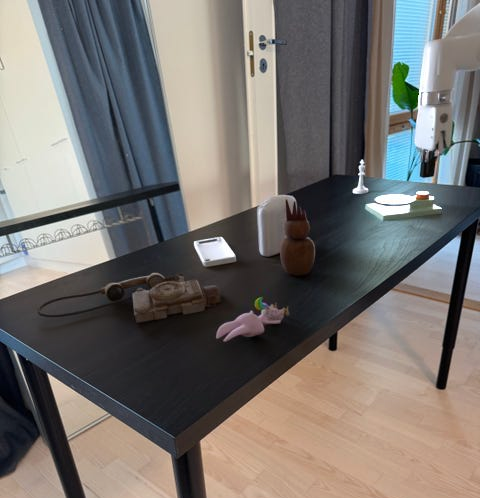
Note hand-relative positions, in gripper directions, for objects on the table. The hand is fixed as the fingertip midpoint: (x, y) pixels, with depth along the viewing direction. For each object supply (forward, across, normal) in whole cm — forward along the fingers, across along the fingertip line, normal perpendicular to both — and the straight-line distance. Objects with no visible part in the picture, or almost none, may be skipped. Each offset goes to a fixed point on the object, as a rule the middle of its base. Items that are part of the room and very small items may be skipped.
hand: (426, 176), depth 111 cm
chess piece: (+9, +25, +8) cm, 28 cm away
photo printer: (+8, -17, +44) cm, 48 cm away
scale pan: (+5, 0, +9) cm, 10 cm away
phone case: (+7, -14, +59) cm, 61 cm away
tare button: (+6, 0, +1) cm, 6 cm away
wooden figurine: (+8, -31, +43) cm, 54 cm away
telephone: (+7, -36, +76) cm, 84 cm away
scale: (+8, 0, +6) cm, 10 cm away
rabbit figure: (+7, -52, +56) cm, 76 cm away
